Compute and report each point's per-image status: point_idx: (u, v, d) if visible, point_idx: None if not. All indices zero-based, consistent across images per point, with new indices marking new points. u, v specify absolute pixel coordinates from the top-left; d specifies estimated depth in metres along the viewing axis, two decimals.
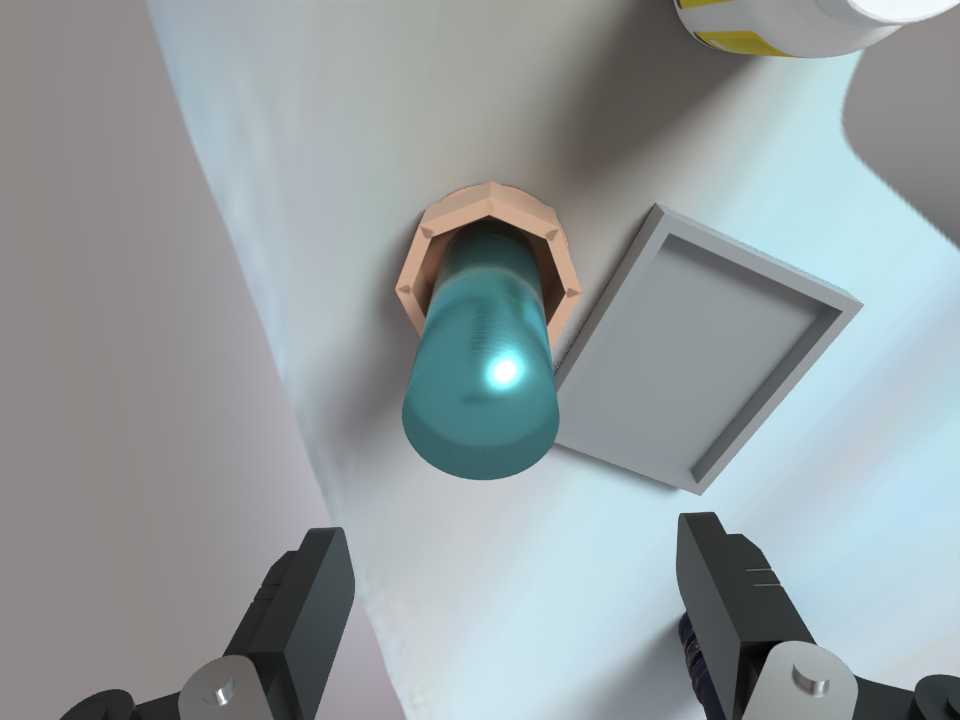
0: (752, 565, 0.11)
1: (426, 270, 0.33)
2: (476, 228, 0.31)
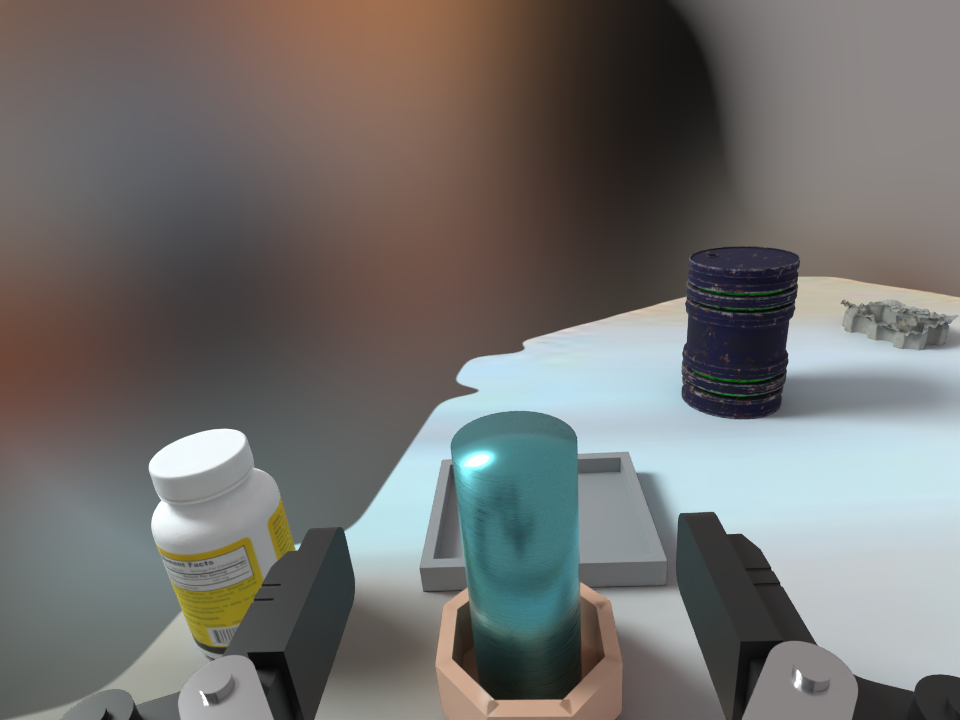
0: (752, 565, 0.11)
1: None
2: None
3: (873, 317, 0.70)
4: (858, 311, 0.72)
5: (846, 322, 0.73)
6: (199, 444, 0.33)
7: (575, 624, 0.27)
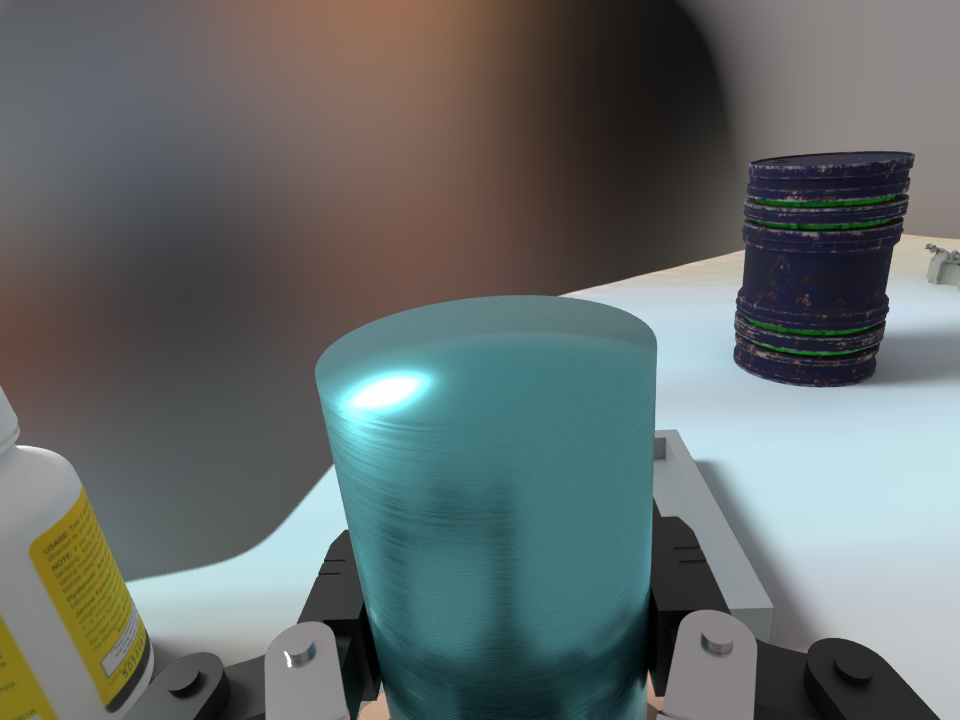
0: (683, 544, 0.12)
1: None
2: None
3: None
4: (948, 257, 0.57)
5: (931, 271, 0.58)
6: None
7: None
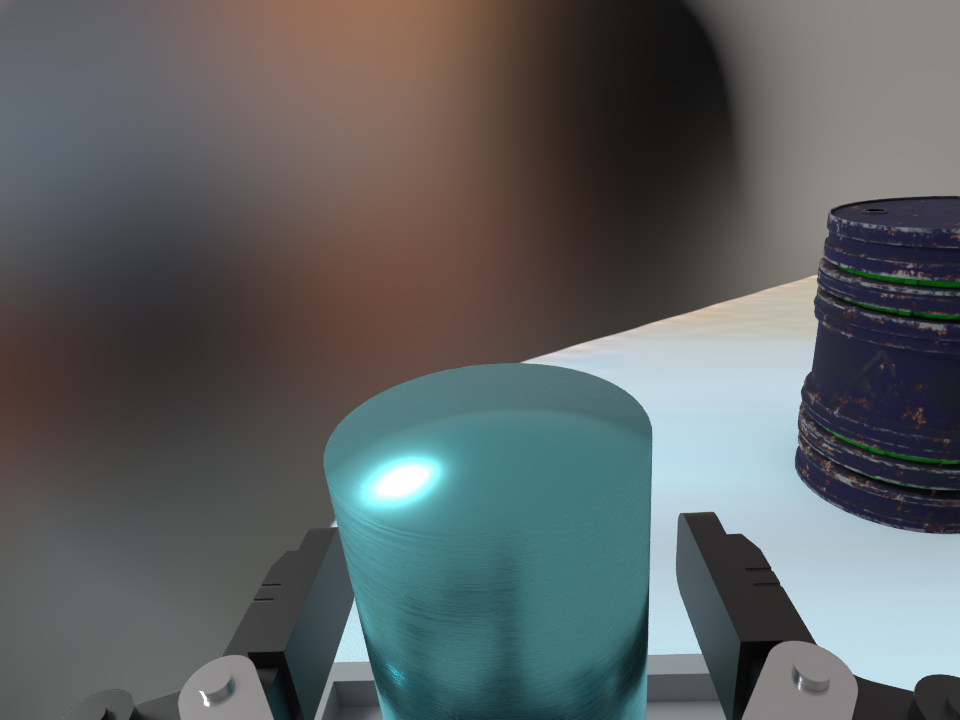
0: (752, 565, 0.11)
1: None
2: None
3: None
4: None
5: None
6: None
7: None
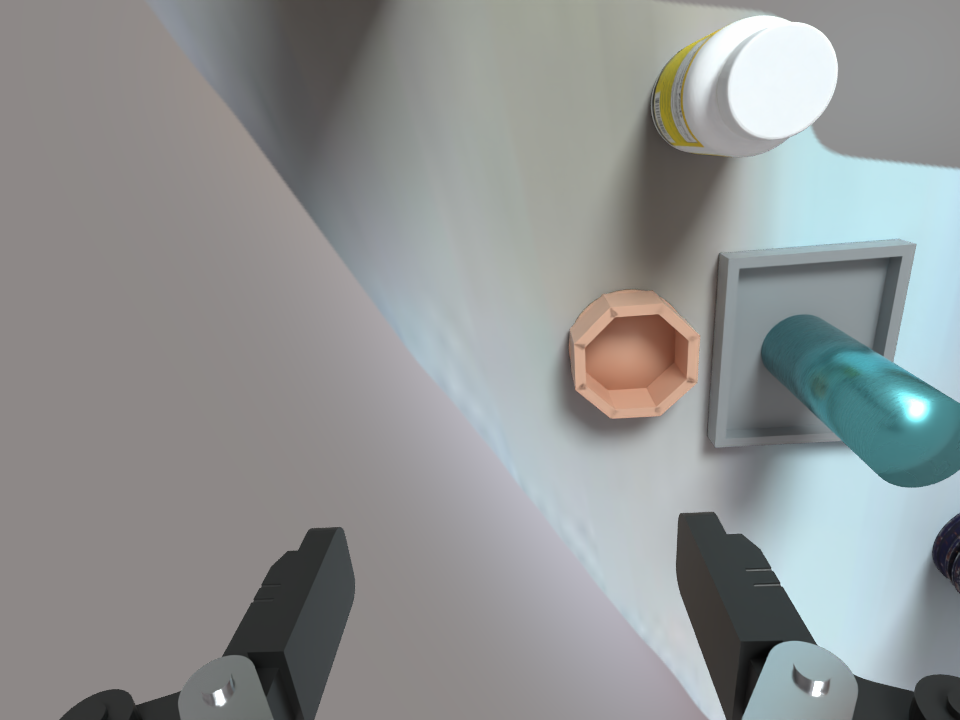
0: (752, 565, 0.11)
1: (586, 368, 0.47)
2: (785, 328, 0.43)
3: None
4: None
5: None
6: (799, 72, 0.27)
7: None
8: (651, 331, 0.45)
